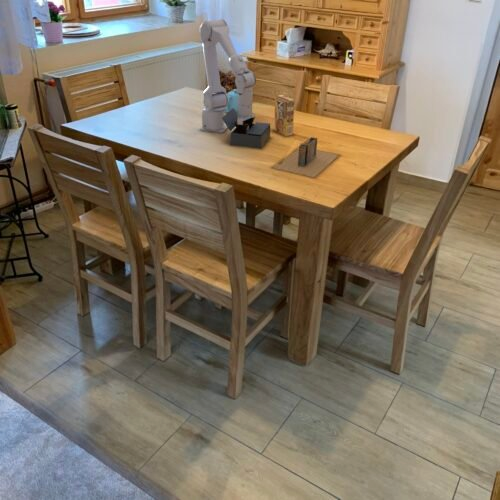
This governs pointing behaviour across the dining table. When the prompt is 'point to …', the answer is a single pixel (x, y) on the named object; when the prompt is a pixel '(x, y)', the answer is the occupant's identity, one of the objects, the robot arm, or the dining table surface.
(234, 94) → the teapot
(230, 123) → the flap
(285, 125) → the candy box
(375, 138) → the dining table surface
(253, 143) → the carton
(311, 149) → the architectural model on board
